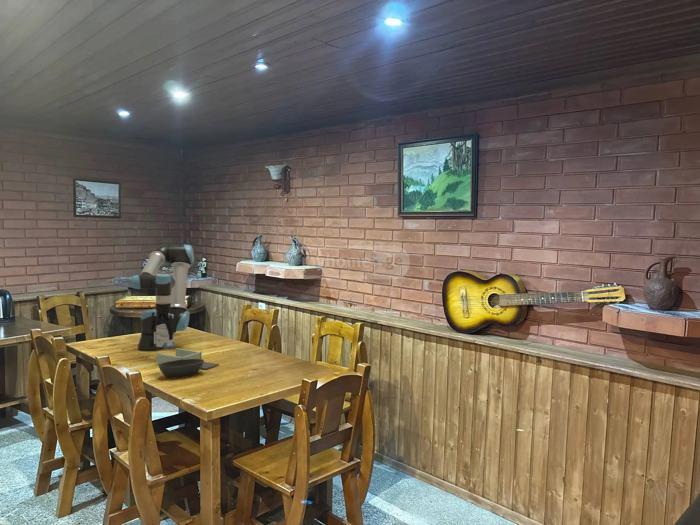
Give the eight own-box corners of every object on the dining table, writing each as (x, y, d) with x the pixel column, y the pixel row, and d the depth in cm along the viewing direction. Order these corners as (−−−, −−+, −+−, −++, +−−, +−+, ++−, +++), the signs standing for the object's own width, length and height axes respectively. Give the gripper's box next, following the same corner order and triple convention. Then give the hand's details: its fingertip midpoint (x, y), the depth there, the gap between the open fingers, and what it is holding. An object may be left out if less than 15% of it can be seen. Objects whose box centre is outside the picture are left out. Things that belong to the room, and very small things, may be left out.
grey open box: (156, 365, 259) (156, 353, 259) (176, 359, 273) (176, 348, 272) (181, 369, 253) (182, 357, 252) (201, 363, 266) (201, 352, 266)
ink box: (174, 346, 270) (174, 324, 269) (168, 348, 265) (168, 326, 264) (162, 344, 273) (162, 323, 272) (155, 346, 268) (155, 325, 267)
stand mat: (190, 367, 257) (190, 365, 257) (203, 363, 266) (203, 361, 266) (206, 370, 253) (206, 368, 253) (218, 365, 262) (218, 364, 262)
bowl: (154, 375, 241) (154, 363, 241) (199, 369, 254) (199, 357, 254) (162, 382, 231) (162, 368, 231) (208, 375, 245) (208, 362, 244)
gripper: (142, 301, 267) (142, 343, 268) (173, 305, 258) (173, 348, 260) (153, 300, 273) (153, 340, 275) (183, 303, 265) (183, 345, 267)
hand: (163, 344), depth 268 cm, fingers closed on ink box, 9 cm apart
